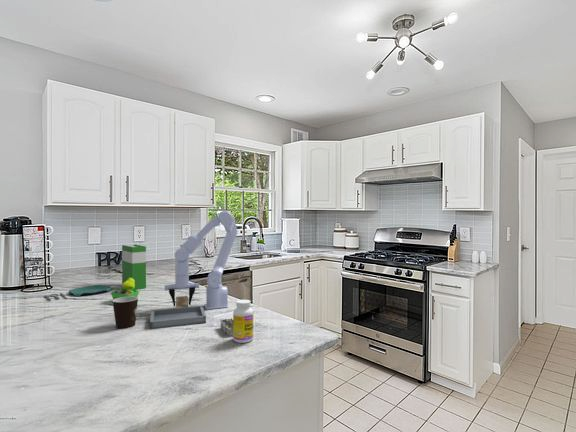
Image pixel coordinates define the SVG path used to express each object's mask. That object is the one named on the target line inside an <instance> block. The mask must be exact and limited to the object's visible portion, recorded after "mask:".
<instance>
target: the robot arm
mask: <svg viewBox="0 0 576 432" xmlns="http://www.w3.org/2000/svg"><path fill="white" fill-rule="evenodd" d="M235 219H236V218H235V217H234V215H233V214H232V212H230V210H222V211H220V212H219V214H216V215H215V216H214V217H212V218H211V219H210V220H209V221H208V222H207V223H206V224H205V225H204V226H203V227H202V229H200V231H198V233H197V234H192V235H189V236H188V237H187V240H186V241H185V242H184V243H183V244H180V248H177V249H176V251H175V252H174V259H175V266H174V267H175V268H174V270H175V271H174V275H175V276H174V277H175V278H174V279H175V281H174V284H166V285H164V291H168V293H169V296H170V298H171V301H172V304H173V307H176V296H175V295H176V292H175V291H176V290H185V289H186V290H187V289H188V306H191V303H192V300H193V296H194V295H195V292H196V289H200V283H199V282H189V280H190V276H189V275H190V274H189V272H190V269H189V257H190V255H191V254H193V253H194V252H196V250H197V249H198V248H199V247H200V246H201V245H202V244H203V243H202V241H203V239H204V238H205V237H206V236H207V235H208V234H209V233H210V232H212V230H213V229H214V228H216V227H219V226H221V225H222V226H223V228H224V230H225V232H226V233H225V236H224V239H223V242H222V244H221V247H220V249H219V252H218V255H217V258H216V259H215V262H214V265H213V268H212V270H211V271H210V272H209V273H208V275H207V279H206V284H207V285H206V286H205V288H206V289H205V291H206V292H205V293H206V294H205V295H206V297H205V298H206V299H205V301H206V303H204V306H205V309H206V310H213V309H223V308H228V307H229V306H228V305H229V303H228V301H229V299H228V298H229V297H228V294H229V291H228V287H227V286H223V284H222V276H223V273H224V269H225V267H226V264H227V261H228V258H229V256H230V253H231V251H232V248H233V245H234V242H235V239H236V237H237V234H238V228H237V224H236V220H235Z"/></svg>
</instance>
